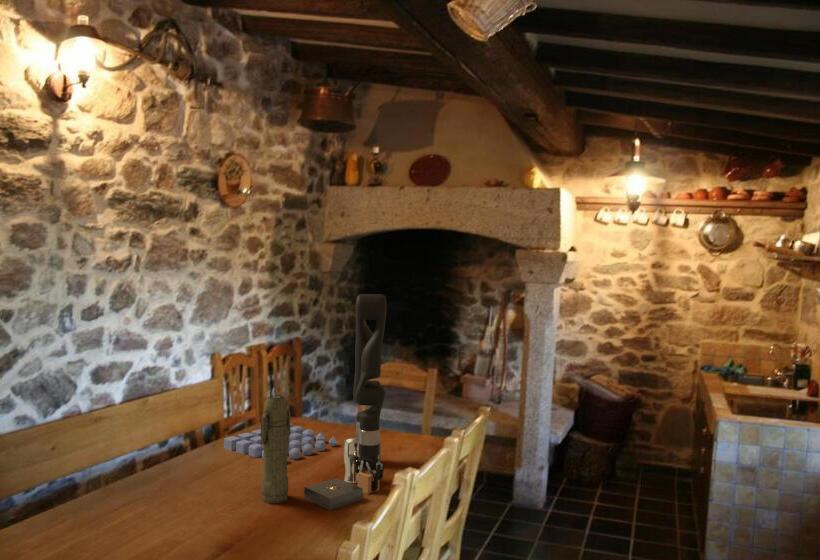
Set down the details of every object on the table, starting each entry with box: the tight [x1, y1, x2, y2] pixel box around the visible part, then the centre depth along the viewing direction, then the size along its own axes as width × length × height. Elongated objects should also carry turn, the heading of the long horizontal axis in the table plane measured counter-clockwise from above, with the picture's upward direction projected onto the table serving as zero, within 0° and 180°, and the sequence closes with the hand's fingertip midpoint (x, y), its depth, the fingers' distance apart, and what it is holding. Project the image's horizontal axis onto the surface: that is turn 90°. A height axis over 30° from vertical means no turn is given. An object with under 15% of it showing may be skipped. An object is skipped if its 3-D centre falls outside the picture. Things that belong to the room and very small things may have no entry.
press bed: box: [303, 477, 364, 511], centre depth 238 cm, size 14×14×4 cm
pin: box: [329, 486, 338, 490], centre depth 238 cm, size 3×3×4 cm
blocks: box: [223, 423, 338, 461], centre depth 296 cm, size 35×34×5 cm
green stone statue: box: [260, 394, 291, 504], centre depth 236 cm, size 9×12×35 cm
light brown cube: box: [356, 470, 381, 495], centre depth 248 cm, size 6×6×6 cm
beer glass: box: [343, 437, 359, 484], centre depth 257 cm, size 7×7×15 cm
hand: (368, 488), depth 248 cm, fingers closed on light brown cube, 5 cm apart
